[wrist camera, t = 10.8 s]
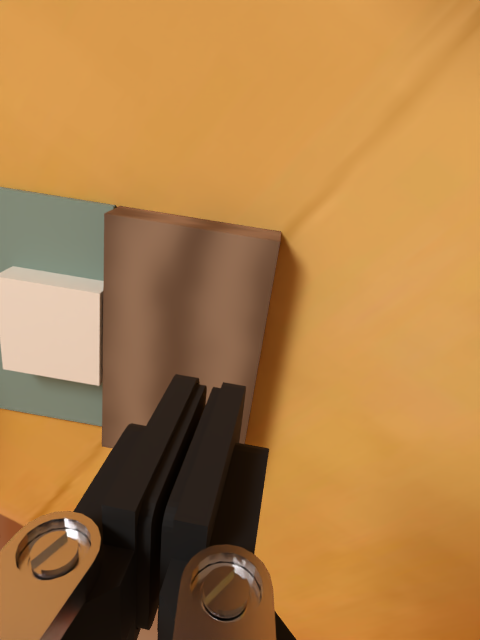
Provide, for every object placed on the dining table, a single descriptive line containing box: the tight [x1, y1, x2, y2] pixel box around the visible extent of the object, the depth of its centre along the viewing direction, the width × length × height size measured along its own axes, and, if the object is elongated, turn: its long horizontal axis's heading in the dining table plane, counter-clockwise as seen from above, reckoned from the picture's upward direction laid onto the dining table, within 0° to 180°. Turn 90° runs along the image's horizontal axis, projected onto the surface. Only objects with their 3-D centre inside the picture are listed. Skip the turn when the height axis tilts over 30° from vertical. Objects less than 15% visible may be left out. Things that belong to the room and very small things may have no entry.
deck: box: [102, 206, 281, 448], centre depth 35 cm, size 12×20×3 cm, turn 172°
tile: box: [0, 266, 104, 386], centre depth 35 cm, size 8×8×2 cm
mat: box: [0, 187, 116, 426], centre depth 37 cm, size 13×20×1 cm, turn 172°
